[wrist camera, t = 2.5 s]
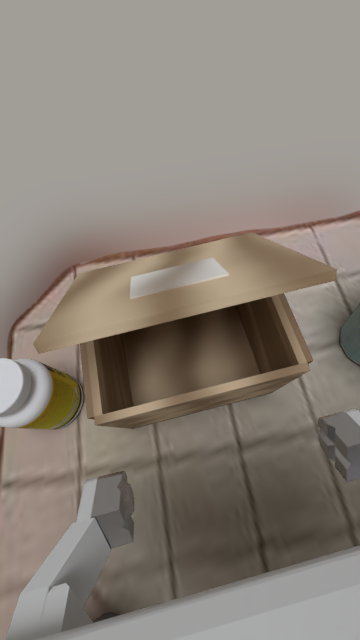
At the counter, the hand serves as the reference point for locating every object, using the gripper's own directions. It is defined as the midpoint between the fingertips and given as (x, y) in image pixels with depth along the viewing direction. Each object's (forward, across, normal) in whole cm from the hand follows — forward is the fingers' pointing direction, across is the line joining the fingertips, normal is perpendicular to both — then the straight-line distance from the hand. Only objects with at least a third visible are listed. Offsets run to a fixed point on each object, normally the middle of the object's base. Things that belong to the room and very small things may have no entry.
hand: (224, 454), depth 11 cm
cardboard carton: (+21, 0, +8) cm, 22 cm away
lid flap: (+11, 0, -5) cm, 12 cm away
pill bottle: (+20, +16, +8) cm, 27 cm away
